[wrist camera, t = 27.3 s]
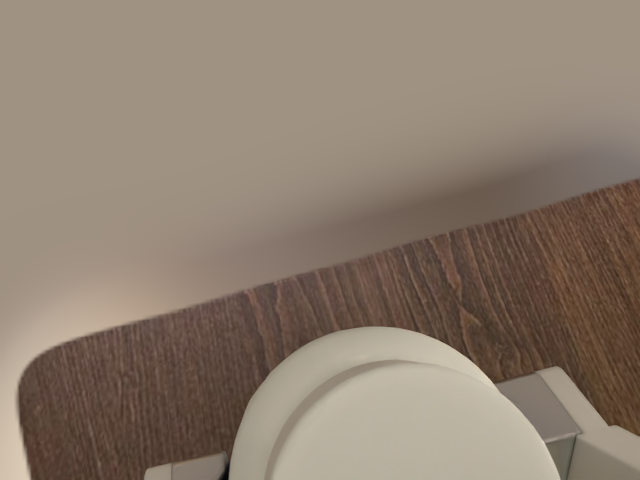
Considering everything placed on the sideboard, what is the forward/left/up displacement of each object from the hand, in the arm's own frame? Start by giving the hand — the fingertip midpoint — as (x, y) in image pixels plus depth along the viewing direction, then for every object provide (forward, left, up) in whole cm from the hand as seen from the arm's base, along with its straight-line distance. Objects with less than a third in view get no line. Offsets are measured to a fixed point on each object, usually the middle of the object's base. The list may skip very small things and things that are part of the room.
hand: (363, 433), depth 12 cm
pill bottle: (0, -1, -6) cm, 6 cm away
